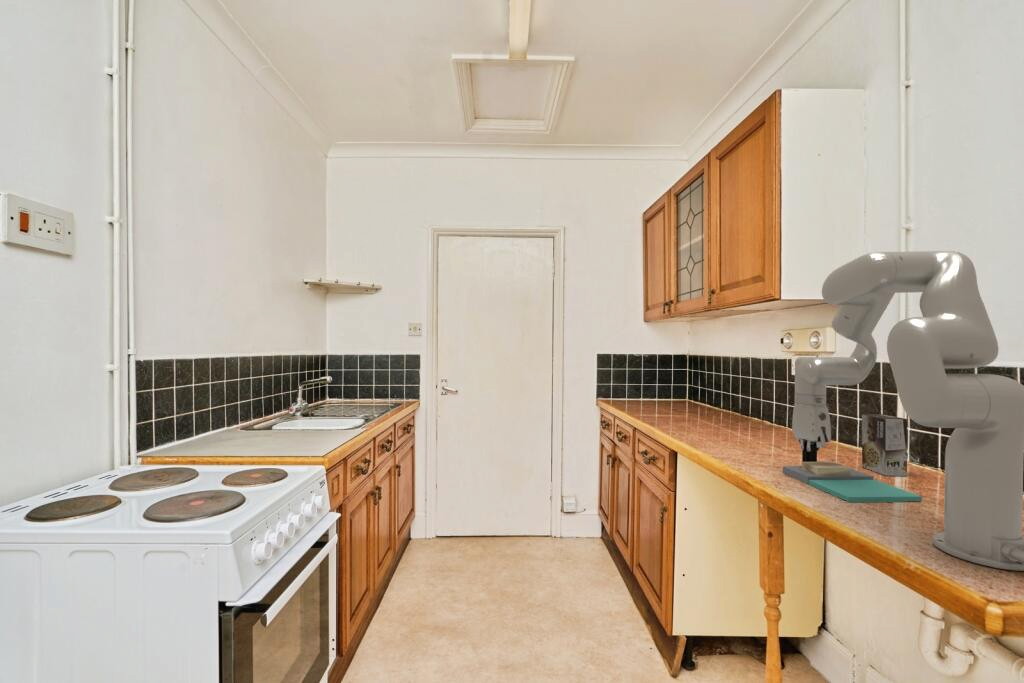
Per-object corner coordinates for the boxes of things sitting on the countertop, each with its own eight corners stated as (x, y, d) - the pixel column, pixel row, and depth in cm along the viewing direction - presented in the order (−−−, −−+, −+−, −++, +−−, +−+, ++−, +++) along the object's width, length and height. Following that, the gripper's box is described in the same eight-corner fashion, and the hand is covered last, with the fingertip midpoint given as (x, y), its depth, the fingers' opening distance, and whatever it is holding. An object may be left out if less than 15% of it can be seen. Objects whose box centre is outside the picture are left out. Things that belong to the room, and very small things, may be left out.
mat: (921, 501, 106) (921, 496, 106) (848, 502, 105) (848, 497, 105) (874, 484, 119) (874, 479, 119) (808, 484, 118) (808, 480, 118)
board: (873, 483, 119) (873, 476, 119) (807, 484, 118) (807, 476, 118) (843, 472, 129) (843, 465, 129) (782, 473, 128) (782, 466, 128)
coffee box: (908, 476, 126) (909, 418, 126) (885, 476, 126) (885, 418, 126) (882, 467, 135) (882, 413, 135) (860, 467, 135) (861, 413, 135)
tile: (850, 475, 120) (850, 467, 120) (817, 475, 119) (817, 467, 119) (833, 468, 126) (833, 461, 126) (802, 469, 125) (802, 461, 125)
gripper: (843, 403, 122) (842, 472, 121) (804, 397, 136) (803, 457, 136) (816, 403, 121) (815, 472, 121) (780, 397, 136) (779, 457, 136)
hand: (809, 464), depth 129 cm, fingers closed
